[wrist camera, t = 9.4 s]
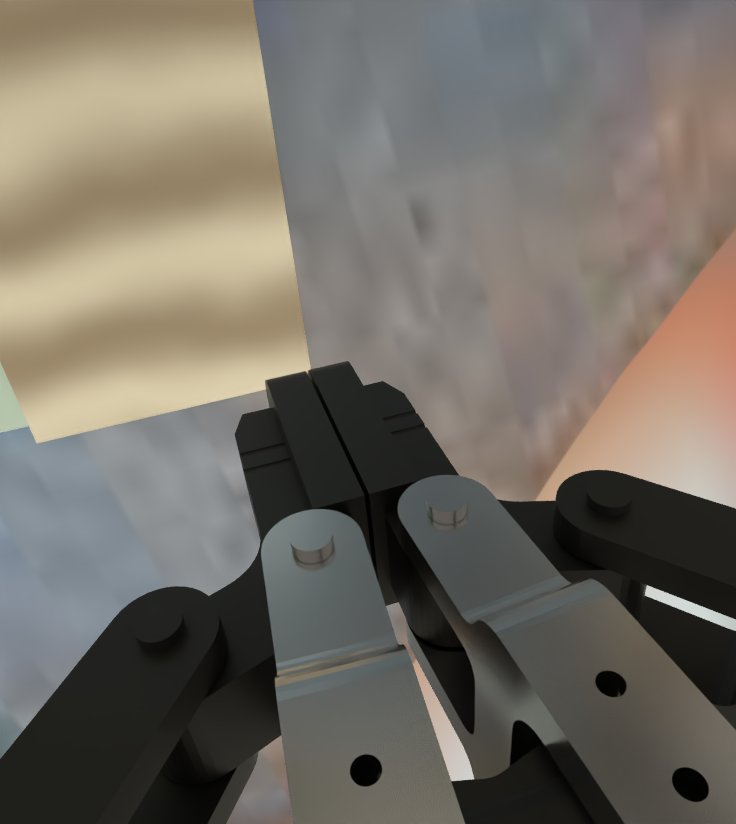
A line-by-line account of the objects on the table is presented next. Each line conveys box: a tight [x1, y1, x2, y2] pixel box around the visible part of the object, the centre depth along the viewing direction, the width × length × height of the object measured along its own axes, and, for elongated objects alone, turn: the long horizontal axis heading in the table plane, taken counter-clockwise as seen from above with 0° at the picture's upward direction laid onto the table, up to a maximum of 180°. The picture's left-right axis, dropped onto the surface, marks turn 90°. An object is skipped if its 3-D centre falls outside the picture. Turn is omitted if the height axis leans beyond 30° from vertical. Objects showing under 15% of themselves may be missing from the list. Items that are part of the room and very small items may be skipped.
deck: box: [0, 0, 311, 443], centre depth 31 cm, size 22×14×4 cm, turn 5°
